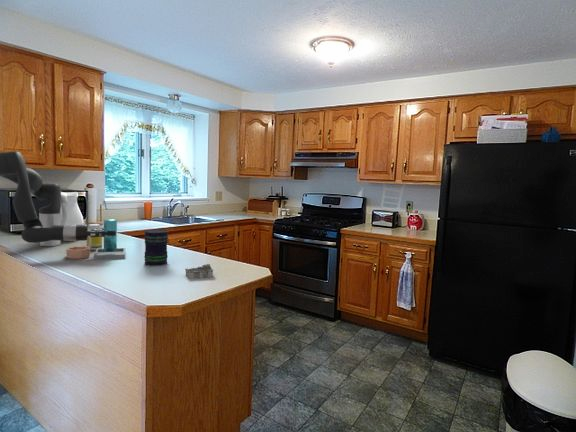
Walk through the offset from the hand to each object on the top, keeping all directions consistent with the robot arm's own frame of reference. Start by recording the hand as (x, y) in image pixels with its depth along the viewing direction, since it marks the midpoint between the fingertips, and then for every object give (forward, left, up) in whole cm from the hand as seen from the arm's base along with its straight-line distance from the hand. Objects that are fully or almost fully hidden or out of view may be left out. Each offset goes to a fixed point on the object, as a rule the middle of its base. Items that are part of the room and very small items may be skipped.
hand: (116, 232), depth 168 cm
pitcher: (-49, -28, -12) cm, 57 cm away
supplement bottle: (-19, -11, -12) cm, 25 cm away
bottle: (0, -3, -9) cm, 9 cm away
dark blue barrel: (+21, +17, -12) cm, 29 cm away
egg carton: (+46, +32, -12) cm, 57 cm away
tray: (0, -2, -11) cm, 12 cm away
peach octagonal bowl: (-1, -16, -11) cm, 20 cm away
